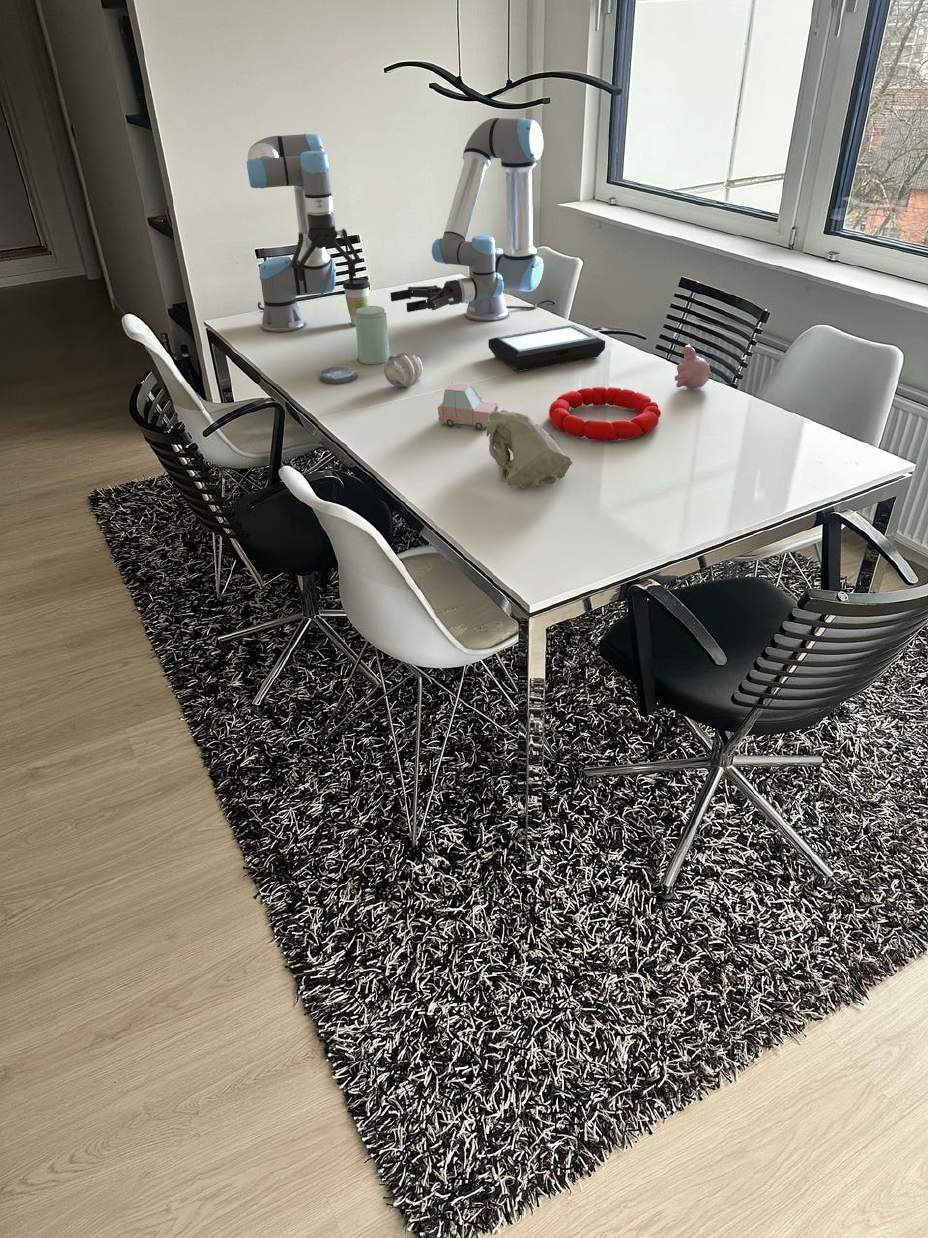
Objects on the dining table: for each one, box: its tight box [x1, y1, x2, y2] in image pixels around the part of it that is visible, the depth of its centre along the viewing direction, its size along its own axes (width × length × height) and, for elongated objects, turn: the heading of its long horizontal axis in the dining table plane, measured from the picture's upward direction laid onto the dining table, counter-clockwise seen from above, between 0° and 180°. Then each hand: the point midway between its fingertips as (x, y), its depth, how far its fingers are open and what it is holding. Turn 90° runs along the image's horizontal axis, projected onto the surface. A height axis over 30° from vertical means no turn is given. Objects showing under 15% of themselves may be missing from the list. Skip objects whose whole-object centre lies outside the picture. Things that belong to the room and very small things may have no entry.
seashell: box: [383, 352, 424, 388], centre depth 268 cm, size 10×15×10 cm
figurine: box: [674, 344, 711, 390], centre depth 259 cm, size 9×11×12 cm
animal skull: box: [485, 409, 573, 489], centre depth 216 cm, size 17×25×20 cm
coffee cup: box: [342, 277, 371, 326], centre depth 323 cm, size 10×10×15 cm
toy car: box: [437, 382, 499, 431], centre depth 243 cm, size 9×15×10 cm, turn 70°
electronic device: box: [488, 324, 606, 372], centre depth 288 cm, size 32×6×20 cm
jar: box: [355, 305, 390, 365], centre depth 289 cm, size 10×10×16 cm
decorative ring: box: [548, 386, 661, 442], centre depth 242 cm, size 7×30×30 cm
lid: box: [319, 365, 357, 385], centre depth 279 cm, size 11×11×2 cm
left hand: (328, 289), depth 264 cm, fingers open, 13 cm apart
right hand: (398, 302), depth 287 cm, fingers open, 13 cm apart
